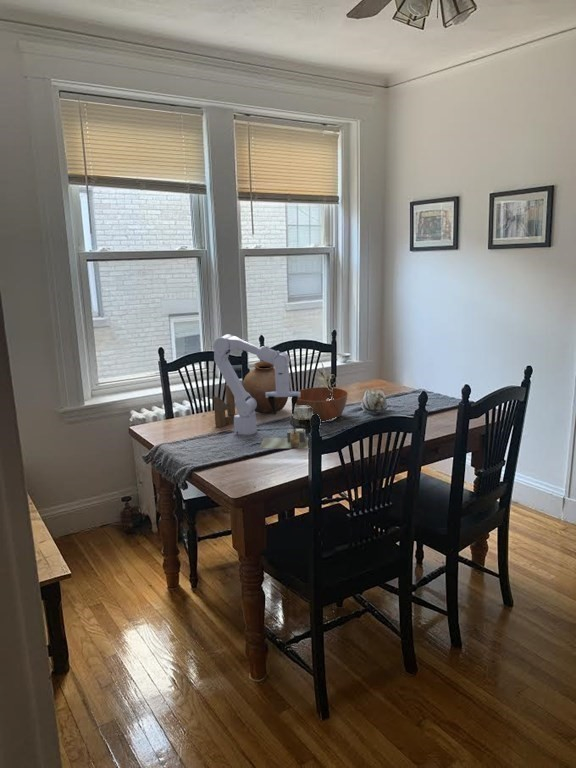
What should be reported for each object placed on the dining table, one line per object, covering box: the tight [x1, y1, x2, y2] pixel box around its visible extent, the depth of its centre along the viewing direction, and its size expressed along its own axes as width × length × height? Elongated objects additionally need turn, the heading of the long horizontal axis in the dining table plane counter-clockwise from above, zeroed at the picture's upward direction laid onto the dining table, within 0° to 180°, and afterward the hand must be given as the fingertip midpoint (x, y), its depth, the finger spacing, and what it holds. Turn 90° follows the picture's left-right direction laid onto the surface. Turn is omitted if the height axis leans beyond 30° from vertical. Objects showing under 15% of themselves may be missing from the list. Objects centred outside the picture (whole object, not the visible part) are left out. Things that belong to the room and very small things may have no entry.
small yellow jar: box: [290, 428, 300, 447], centre depth 225 cm, size 4×4×7 cm
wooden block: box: [212, 383, 238, 428], centre depth 259 cm, size 4×11×18 cm, turn 140°
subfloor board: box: [259, 437, 309, 449], centre depth 229 cm, size 20×12×1 cm, turn 84°
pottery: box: [241, 360, 289, 415], centre depth 273 cm, size 23×23×25 cm
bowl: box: [295, 386, 349, 423], centre depth 263 cm, size 25×25×11 cm
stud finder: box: [286, 428, 307, 442], centre depth 231 cm, size 7×4×4 cm, turn 84°
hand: (283, 413), depth 239 cm, fingers open, 7 cm apart
